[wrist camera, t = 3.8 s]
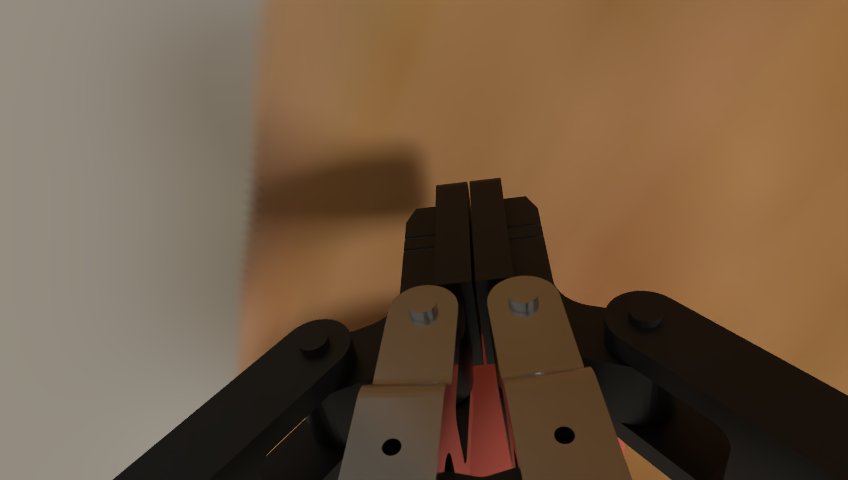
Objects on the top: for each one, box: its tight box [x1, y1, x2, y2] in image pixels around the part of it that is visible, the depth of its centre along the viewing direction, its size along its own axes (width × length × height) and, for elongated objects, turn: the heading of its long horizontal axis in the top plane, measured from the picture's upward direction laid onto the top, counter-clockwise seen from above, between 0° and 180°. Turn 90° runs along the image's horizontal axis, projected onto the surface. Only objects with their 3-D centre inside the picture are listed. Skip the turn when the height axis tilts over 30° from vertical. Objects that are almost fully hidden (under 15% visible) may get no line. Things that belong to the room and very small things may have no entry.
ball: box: [470, 335, 625, 477], centre depth 17 cm, size 6×6×6 cm
